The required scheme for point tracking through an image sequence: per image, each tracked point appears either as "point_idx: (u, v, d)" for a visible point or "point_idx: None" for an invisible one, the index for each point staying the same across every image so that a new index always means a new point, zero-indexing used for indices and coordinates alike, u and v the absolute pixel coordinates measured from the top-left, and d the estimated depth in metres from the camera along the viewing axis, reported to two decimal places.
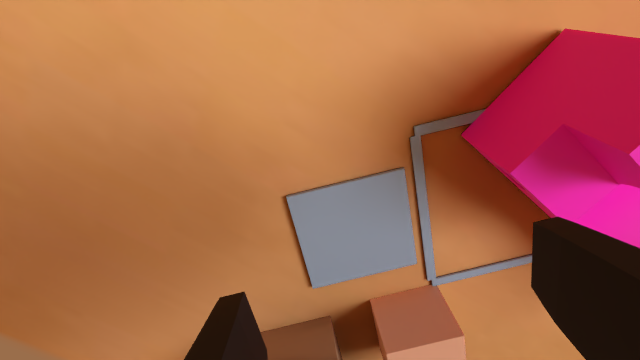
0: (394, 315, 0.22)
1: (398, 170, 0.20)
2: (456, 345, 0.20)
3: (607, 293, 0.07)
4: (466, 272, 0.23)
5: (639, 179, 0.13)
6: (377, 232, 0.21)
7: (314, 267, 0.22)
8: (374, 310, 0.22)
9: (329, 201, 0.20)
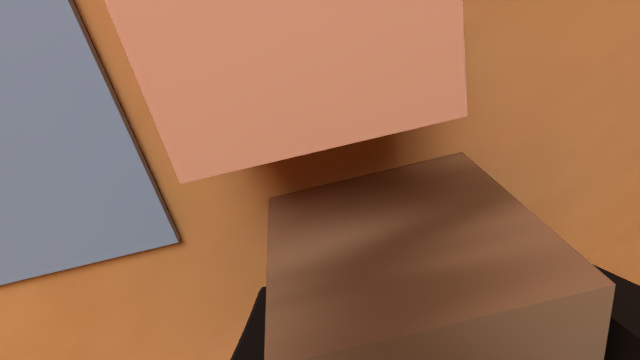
0: None
1: None
2: None
3: None
4: None
5: None
6: None
7: (118, 243, 0.10)
8: None
9: None
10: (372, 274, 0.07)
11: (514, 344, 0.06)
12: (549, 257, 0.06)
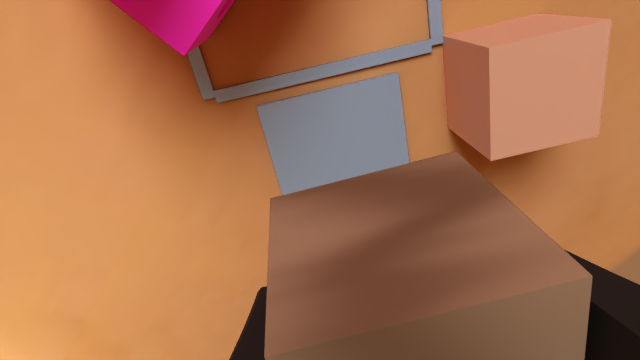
0: (462, 116, 0.16)
1: (258, 113, 0.16)
2: (506, 57, 0.13)
3: None
4: None
5: None
6: (343, 130, 0.17)
7: None
8: (456, 132, 0.17)
9: (297, 186, 0.18)
10: (366, 269, 0.07)
11: (499, 332, 0.06)
12: (533, 251, 0.07)
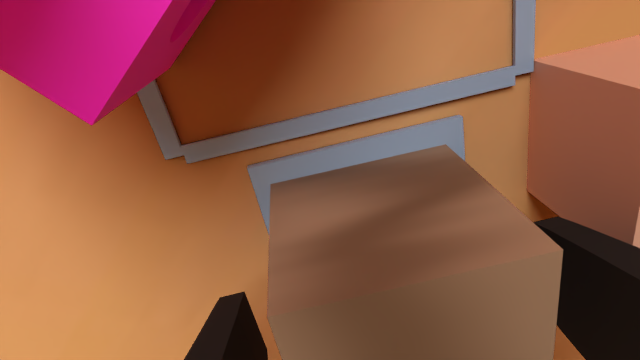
0: (563, 184, 0.10)
1: (250, 177, 0.11)
2: None
3: (607, 293, 0.07)
4: None
5: None
6: None
7: None
8: (545, 202, 0.11)
9: None
10: (360, 245, 0.08)
11: (479, 300, 0.07)
12: (511, 229, 0.07)
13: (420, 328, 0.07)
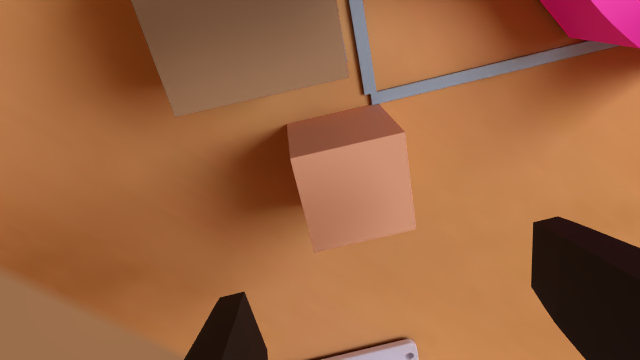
0: (313, 130, 0.15)
1: None
2: (394, 150, 0.14)
3: (607, 293, 0.07)
4: (418, 85, 0.17)
5: None
6: None
7: None
8: (289, 130, 0.16)
9: None
10: None
11: (313, 30, 0.10)
12: None
13: None
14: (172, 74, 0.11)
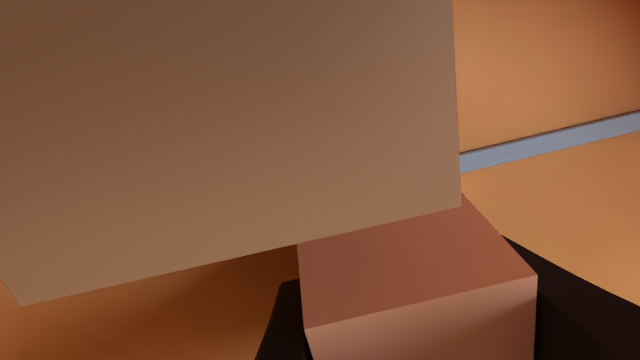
0: (342, 238, 0.09)
1: None
2: (511, 305, 0.07)
3: None
4: (514, 147, 0.10)
5: None
6: None
7: None
8: None
9: None
10: None
11: (381, 95, 0.04)
12: None
13: None
14: None
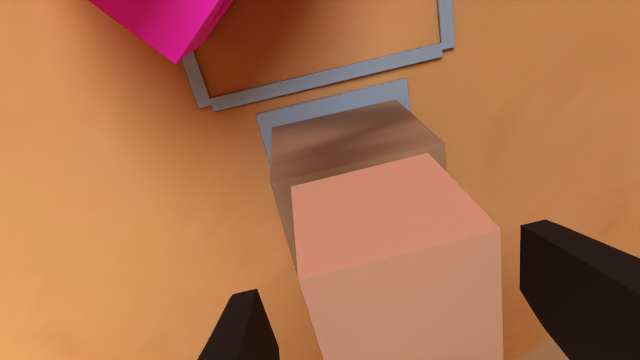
0: (333, 207, 0.10)
1: None
2: (479, 258, 0.08)
3: (591, 297, 0.07)
4: None
5: None
6: None
7: None
8: (294, 203, 0.10)
9: None
10: (329, 150, 0.12)
11: None
12: (420, 137, 0.12)
13: None
14: None
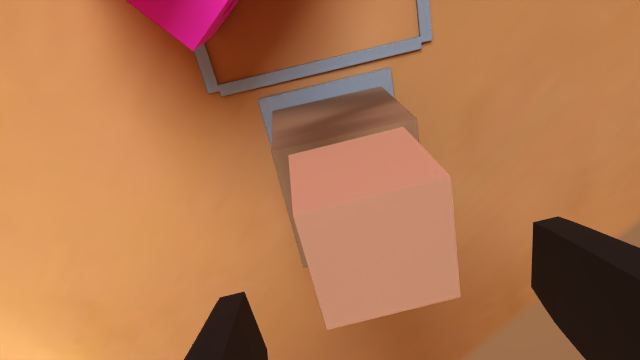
0: (323, 168, 0.12)
1: (260, 106, 0.18)
2: (435, 200, 0.10)
3: (607, 293, 0.07)
4: None
5: None
6: None
7: None
8: (291, 166, 0.12)
9: None
10: (320, 126, 0.14)
11: None
12: (397, 114, 0.14)
13: None
14: None
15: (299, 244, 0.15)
